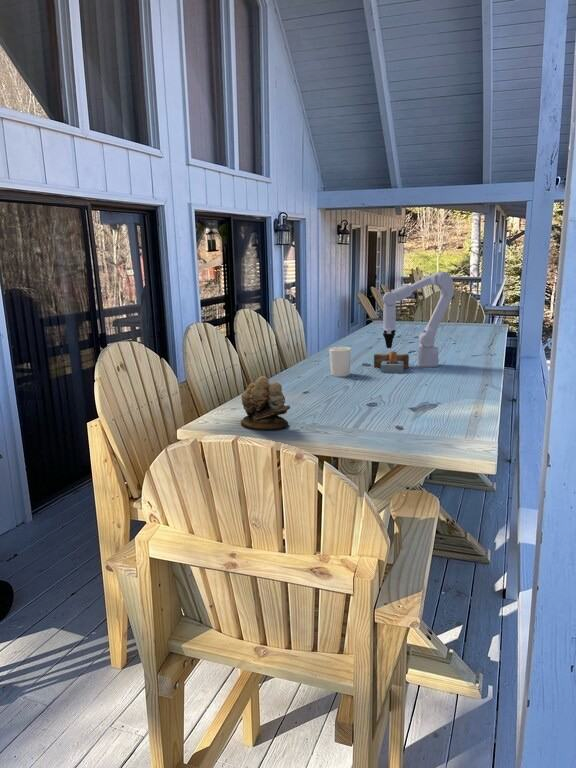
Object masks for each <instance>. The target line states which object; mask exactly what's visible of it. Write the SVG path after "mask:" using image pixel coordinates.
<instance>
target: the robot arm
mask: <svg viewBox="0 0 576 768" xmlns="http://www.w3.org/2000/svg"><path fill="white" fill-rule="evenodd" d="M453 282H454V280H453V277H452V276H451V275H450V273H448V272H444V271H439V272H436V273H433V274H430V275H427V276H425V277H424V278H422V279H420V280H417V281H416V282H414V283H411V284H410V285H409V284H407V283H406V284H400V286H399V287H397V288H395V289H391V290H390V291H388V292H385V293H384V295H383V297H382V301H383V308H382V309H383V310H382V312H383V313H382V314H383V315H382V316H383V321H382V323H383V324H382V326H381V327H380V330H382V331H383V333H382V336H383V338H384V340H385V341H384V342H385V347H386V349H392V347H393V346H392V345H393V341H394V337H395V336H396V332H397V331H396V329H397V327H396V322H397V321H396V318H397V317H396V313H397V312H396V310H397V309H396V303H397V302H400V301H402V300H404V299H407V298H409V297H411V295H412V294H413V292H415V291H418V290H420V289H422V288H424V287H426V286H429V285H431V286H437V287H438V288H439V291H440V292H441V293H440V294H441V295H440V297H439V299H438V302H437V304H436V305H435V308H434V310H433V313H431V316H430V319H429V321H428V323H427V325H426V326H425V327H424V329H423V330H422V332H420V333H419V334H418V339H417V340H418V342H419V344H418V345H417V346H418V350H417V351H418V352H417V353H418V354H417V362H416V366H417V367H420V368H421V367H422V368H424V367H425V368H427V367H428V368H435V367H436V368H437V367H439V361H440V359H439V346H435V345H434V344H435V338H436V335H437V331H438V328H439V327H440V324H441V322H442V320H443V318H444V316H445V313H446V312H447V310H448V307H449V305H450V304H451V301H452V299H453V297H454V294H455V293H454V283H453Z"/></svg>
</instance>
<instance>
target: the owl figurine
mask: <svg viewBox="0 0 576 768" xmlns="http://www.w3.org/2000/svg"><path fill="white" fill-rule="evenodd" d="M282 391H283V387H282V384H281V383H280V382H275V381H274V382H273V381H272V382H270V381H269V378H268V377H266V376H265V375H262V376H259V377H257V378H256V380H255V382H250V383H249V384H248V385H247V388H246V389H245V391H243V393H241V404H242V405H243V410H244V411H245V413H246V416H244V417H243V419H241V420H240V425H241V427H243V428H246V429H247V430H253V431H261V432H273V431H274V432H275V431H280V430H283V429H285V428H286V427H288V426H289V422H288V420H286V419H285V418H284V417H283V416H279V415H285V414H286V413H288V410H290V409H291V405H285V404H286V397H285V395H284V393H283V392H282Z"/></svg>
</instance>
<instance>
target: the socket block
mask: <svg viewBox="0 0 576 768" xmlns="http://www.w3.org/2000/svg"><path fill="white" fill-rule="evenodd" d="M404 369H405V368H404V361H396V364H389V361H382V363H381V368H380V373H381V372H382V373H384V374H390V373H391V374H404Z"/></svg>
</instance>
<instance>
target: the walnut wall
mask: <svg viewBox="0 0 576 768" xmlns="http://www.w3.org/2000/svg"><path fill="white" fill-rule="evenodd" d="M409 354H410V353H406V354H405V353H401V354H400V353H397V355H396V361H404V368H403V369H409V367H410V366H409V365H410V364H409V363H410V362H409V358H410V355H409ZM382 361H389V353H374V354H373V368H374V367H378V369H379V368H380V369H381V363H382Z"/></svg>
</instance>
